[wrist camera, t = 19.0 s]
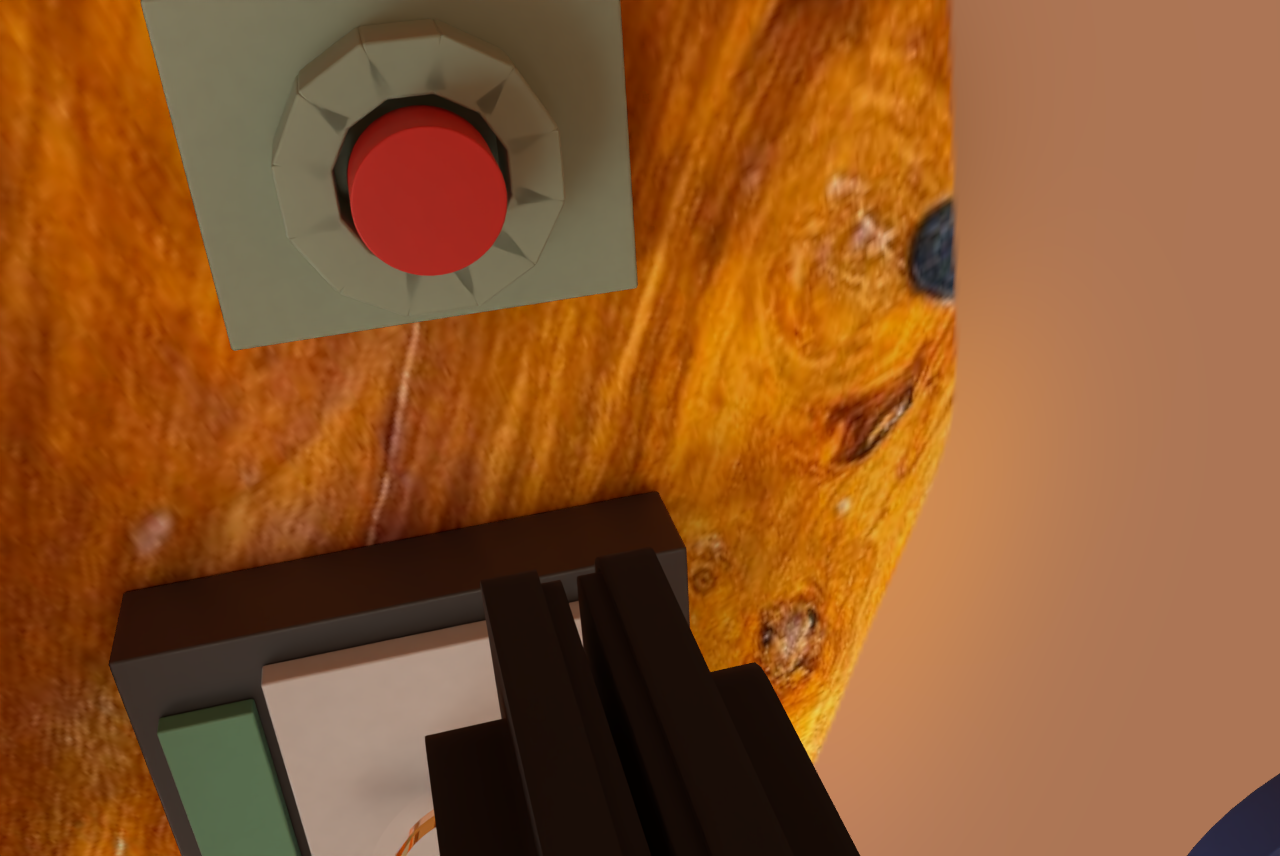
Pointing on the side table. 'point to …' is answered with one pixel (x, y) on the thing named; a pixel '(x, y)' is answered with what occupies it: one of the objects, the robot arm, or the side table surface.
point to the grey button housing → (355, 97)
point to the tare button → (425, 191)
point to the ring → (407, 828)
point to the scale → (339, 675)
